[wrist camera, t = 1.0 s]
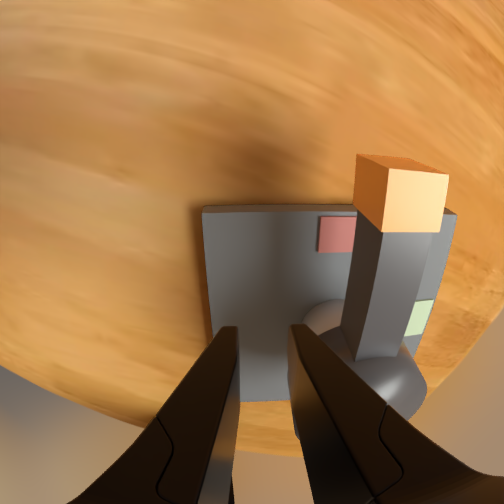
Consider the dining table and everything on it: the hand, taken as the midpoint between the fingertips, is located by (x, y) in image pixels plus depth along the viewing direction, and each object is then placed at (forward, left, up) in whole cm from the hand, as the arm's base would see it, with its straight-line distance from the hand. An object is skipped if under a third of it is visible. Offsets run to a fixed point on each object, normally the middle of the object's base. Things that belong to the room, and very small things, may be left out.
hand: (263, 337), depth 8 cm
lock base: (-9, -6, -13) cm, 17 cm away
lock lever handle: (-5, -6, -7) cm, 11 cm away
